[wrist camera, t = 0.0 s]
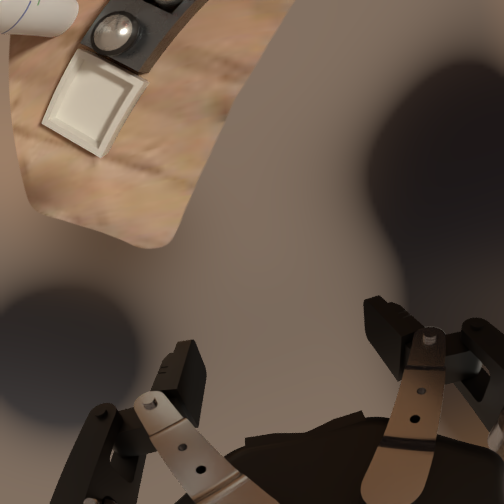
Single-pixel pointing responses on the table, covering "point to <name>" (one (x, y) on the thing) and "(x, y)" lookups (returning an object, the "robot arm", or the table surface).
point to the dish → (93, 101)
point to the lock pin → (169, 5)
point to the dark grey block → (137, 30)
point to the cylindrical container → (37, 17)
